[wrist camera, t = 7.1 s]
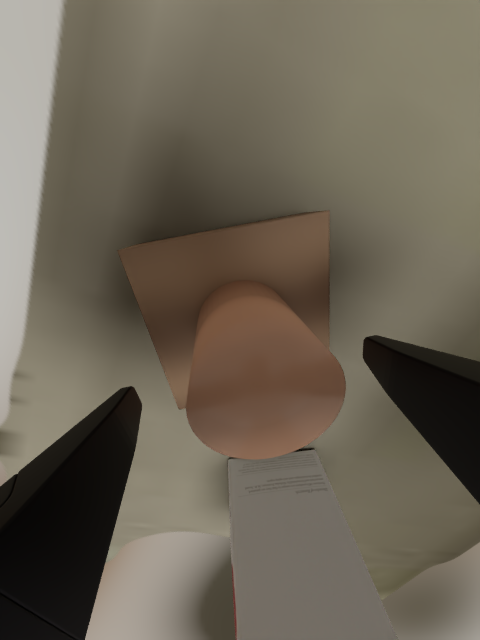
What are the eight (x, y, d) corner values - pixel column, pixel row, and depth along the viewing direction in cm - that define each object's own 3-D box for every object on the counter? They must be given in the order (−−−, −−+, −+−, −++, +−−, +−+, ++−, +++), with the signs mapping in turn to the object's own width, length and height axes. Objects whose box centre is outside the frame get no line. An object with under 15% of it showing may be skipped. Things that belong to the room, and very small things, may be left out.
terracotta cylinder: (290, 353, 14) (343, 441, 8) (209, 369, 13) (207, 472, 8) (283, 271, 11) (348, 317, 6) (187, 290, 11) (164, 355, 6)
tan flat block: (311, 352, 17) (329, 377, 15) (184, 379, 17) (178, 409, 14) (305, 212, 13) (329, 210, 10) (137, 244, 13) (117, 250, 10)
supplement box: (225, 456, 21) (248, 874, 8) (316, 446, 22) (480, 806, 9) (228, 510, 25) (247, 856, 11) (305, 499, 26) (409, 809, 12)
